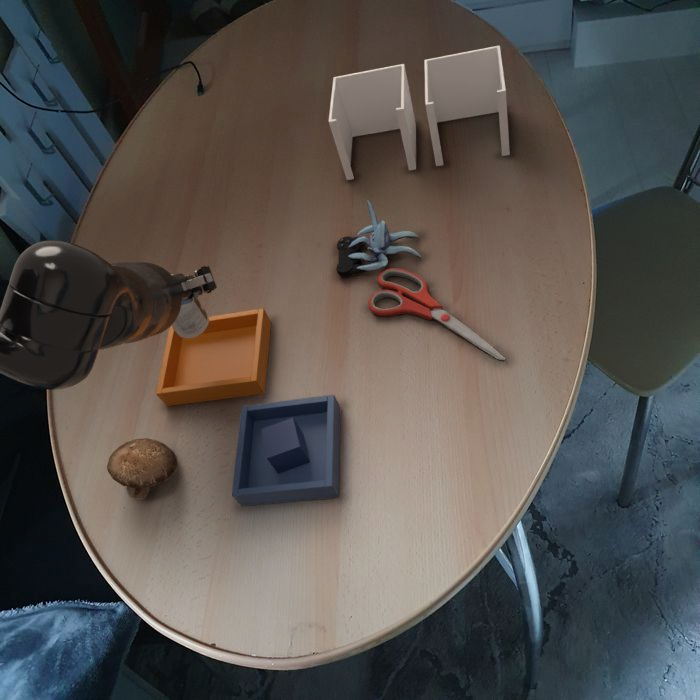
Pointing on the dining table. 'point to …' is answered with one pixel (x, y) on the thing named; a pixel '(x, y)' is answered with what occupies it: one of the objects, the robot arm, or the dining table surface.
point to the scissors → (423, 307)
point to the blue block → (285, 445)
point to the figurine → (378, 246)
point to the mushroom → (142, 465)
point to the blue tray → (297, 483)
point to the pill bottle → (191, 320)
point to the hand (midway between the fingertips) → (177, 293)
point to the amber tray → (217, 360)
